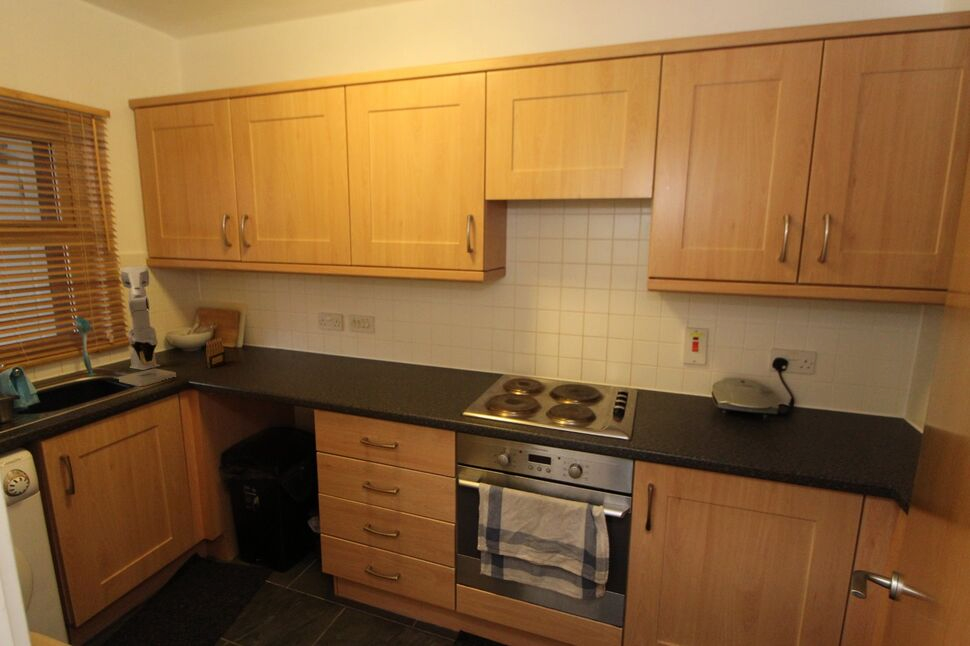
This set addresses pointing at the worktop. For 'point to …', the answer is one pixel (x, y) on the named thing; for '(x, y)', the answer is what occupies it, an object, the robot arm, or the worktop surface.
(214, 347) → the ammunition clip
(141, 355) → the wooden block
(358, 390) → the worktop surface
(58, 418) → the worktop surface
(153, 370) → the plate with square hole
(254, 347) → the worktop surface
